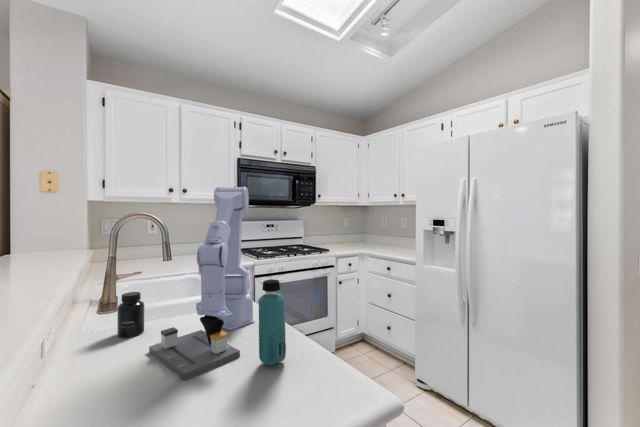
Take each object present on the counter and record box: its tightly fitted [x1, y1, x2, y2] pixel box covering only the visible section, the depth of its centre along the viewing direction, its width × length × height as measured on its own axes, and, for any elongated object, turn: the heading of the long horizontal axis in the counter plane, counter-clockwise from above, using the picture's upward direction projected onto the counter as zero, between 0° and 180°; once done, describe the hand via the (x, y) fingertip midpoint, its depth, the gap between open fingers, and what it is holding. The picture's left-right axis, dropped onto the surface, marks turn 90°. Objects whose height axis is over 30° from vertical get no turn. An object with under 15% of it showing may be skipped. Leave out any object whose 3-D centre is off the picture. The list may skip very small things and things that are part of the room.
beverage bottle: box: [257, 279, 287, 365], centre depth 72 cm, size 6×7×20 cm
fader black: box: [160, 327, 179, 349], centre depth 78 cm, size 3×3×4 cm
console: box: [148, 329, 241, 382], centre depth 77 cm, size 14×20×2 cm
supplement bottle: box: [116, 291, 145, 339], centre depth 90 cm, size 7×7×12 cm
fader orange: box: [210, 330, 228, 354], centre depth 75 cm, size 3×3×4 cm
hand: (213, 343), depth 77 cm, fingers closed
